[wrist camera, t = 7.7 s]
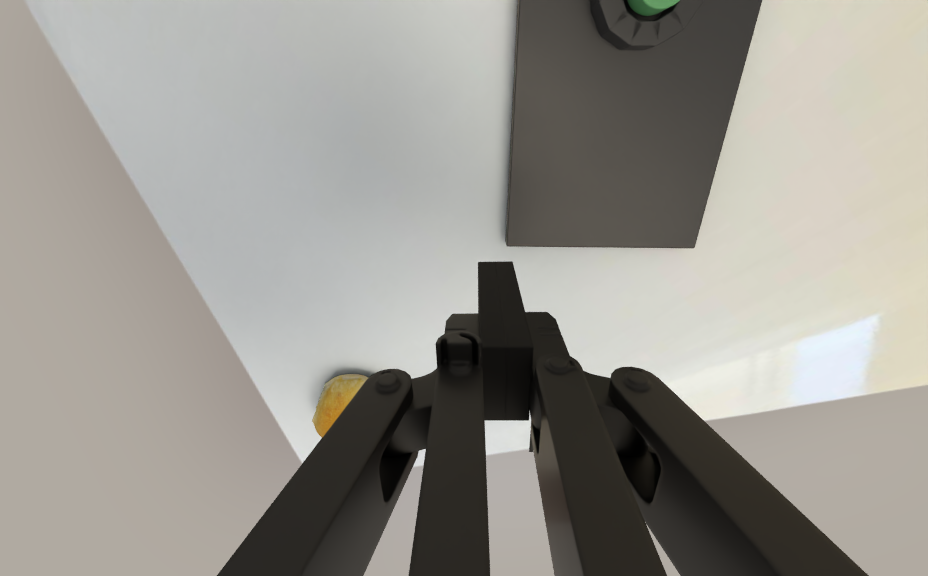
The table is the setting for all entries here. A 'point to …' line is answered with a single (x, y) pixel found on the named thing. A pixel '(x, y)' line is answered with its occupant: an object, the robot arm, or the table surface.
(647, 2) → the button
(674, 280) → the table surface
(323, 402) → the bread roll
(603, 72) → the scale
